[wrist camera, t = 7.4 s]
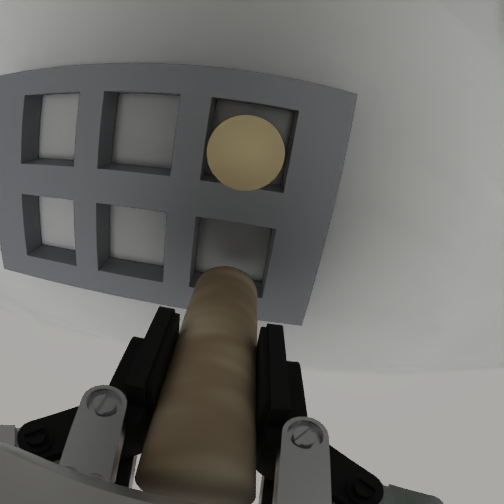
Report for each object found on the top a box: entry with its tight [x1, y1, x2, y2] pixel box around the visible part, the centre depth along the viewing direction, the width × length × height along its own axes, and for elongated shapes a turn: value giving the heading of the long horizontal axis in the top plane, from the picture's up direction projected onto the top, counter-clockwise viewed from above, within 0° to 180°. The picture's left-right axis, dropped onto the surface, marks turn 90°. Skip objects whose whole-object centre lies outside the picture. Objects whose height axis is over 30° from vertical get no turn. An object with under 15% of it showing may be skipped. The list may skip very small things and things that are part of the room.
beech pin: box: [135, 266, 257, 504], centre depth 11 cm, size 3×3×10 cm
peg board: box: [0, 63, 357, 326], centre depth 16 cm, size 22×14×6 cm, turn 81°
